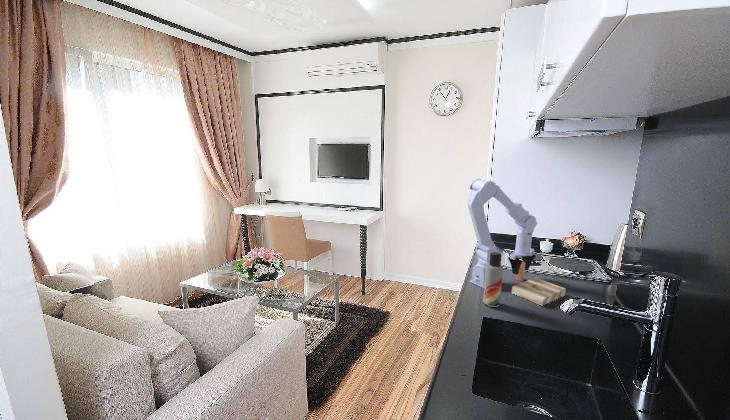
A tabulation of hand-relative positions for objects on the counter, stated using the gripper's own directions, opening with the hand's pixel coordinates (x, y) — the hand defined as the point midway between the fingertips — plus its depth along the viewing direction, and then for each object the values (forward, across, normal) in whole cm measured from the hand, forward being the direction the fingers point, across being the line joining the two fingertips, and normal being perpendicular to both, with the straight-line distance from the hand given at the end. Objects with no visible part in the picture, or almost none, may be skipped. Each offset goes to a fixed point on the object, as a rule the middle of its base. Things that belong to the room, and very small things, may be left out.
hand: (520, 271), depth 135 cm
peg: (+4, 0, 0) cm, 4 cm away
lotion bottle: (+4, -29, -7) cm, 30 cm away
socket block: (+4, -7, -12) cm, 14 cm away
